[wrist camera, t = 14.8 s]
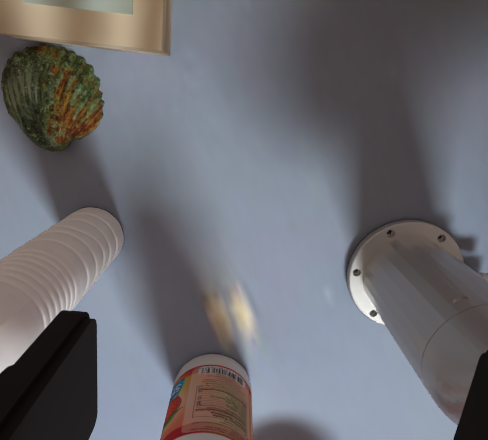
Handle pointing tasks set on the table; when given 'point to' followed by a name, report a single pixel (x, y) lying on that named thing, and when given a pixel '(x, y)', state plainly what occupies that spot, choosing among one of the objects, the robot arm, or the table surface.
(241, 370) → the fruit juice
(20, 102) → the seashell
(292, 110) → the table surface
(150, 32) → the plinth
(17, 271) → the water bottle
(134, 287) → the table surface
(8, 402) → the robot arm
